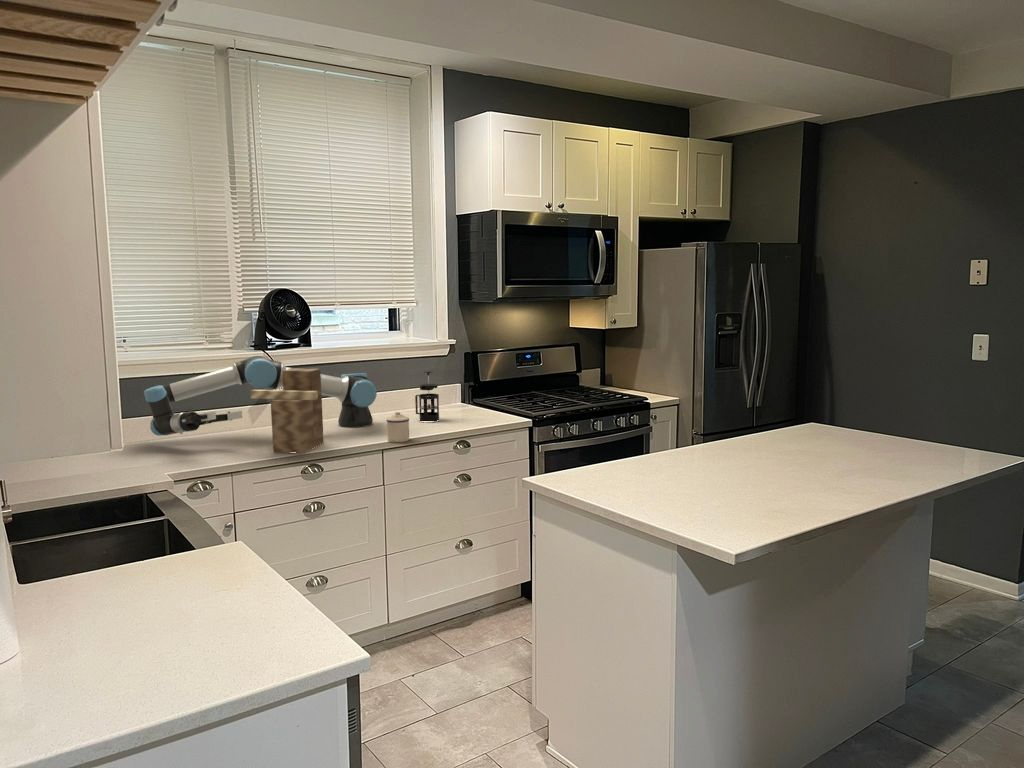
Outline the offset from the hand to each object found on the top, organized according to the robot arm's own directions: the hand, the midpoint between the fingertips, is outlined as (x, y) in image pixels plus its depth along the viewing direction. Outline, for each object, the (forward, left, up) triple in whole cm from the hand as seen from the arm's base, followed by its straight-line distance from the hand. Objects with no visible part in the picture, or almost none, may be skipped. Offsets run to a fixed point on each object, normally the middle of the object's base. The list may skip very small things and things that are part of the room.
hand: (228, 414), depth 282 cm
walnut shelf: (-22, +11, -15) cm, 29 cm away
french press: (-91, +3, -15) cm, 93 cm away
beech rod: (-17, +11, +5) cm, 21 cm away
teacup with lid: (-57, +26, -15) cm, 65 cm away
